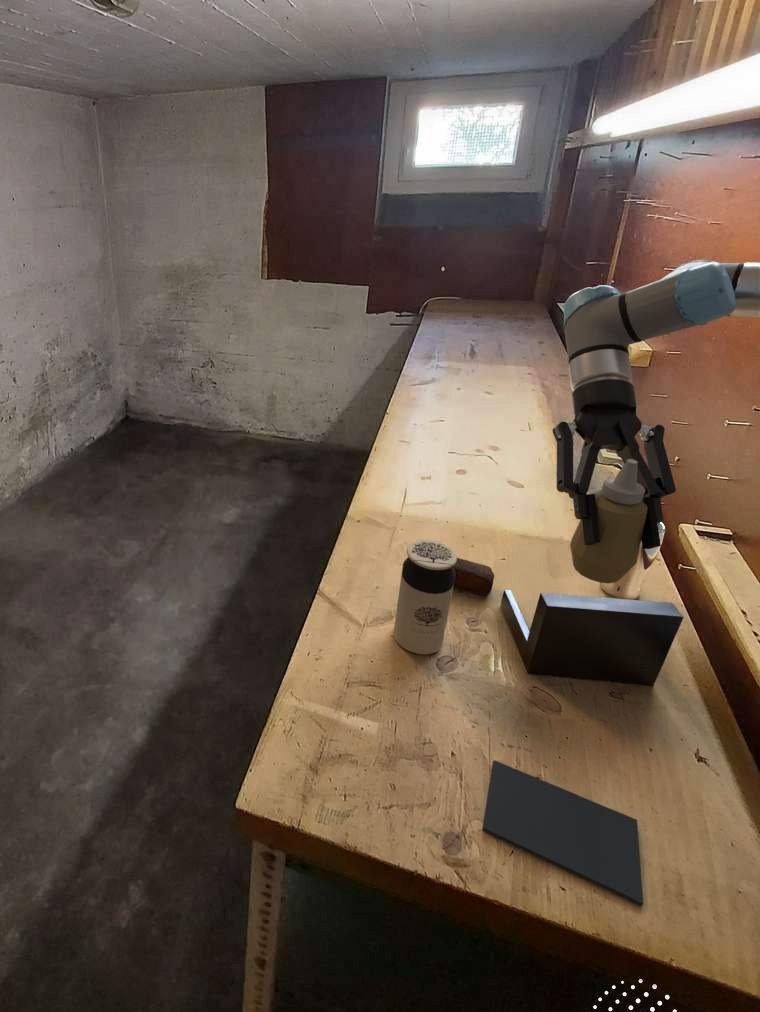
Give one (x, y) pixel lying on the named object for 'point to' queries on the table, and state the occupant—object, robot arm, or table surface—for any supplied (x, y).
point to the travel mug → (424, 596)
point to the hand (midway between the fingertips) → (621, 545)
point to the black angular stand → (594, 637)
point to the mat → (565, 830)
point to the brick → (473, 577)
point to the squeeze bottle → (613, 529)
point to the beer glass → (634, 572)
